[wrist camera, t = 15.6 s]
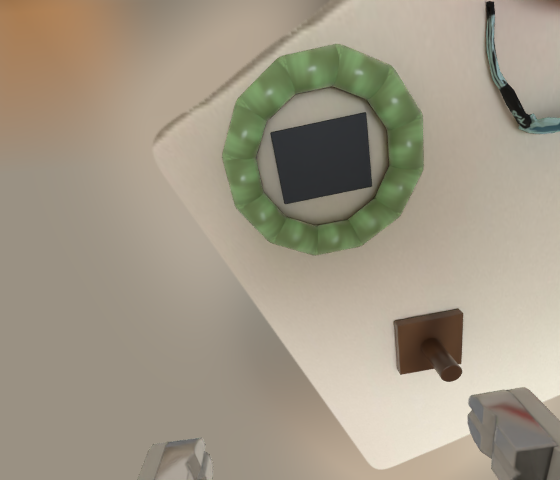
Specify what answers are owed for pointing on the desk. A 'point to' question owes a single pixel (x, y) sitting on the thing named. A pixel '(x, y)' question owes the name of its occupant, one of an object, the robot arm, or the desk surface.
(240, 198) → the ring
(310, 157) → the mat
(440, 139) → the desk surface
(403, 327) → the stand
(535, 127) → the sunglasses
